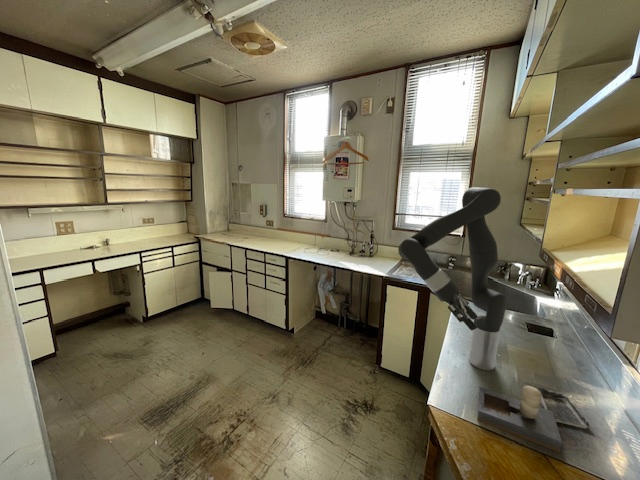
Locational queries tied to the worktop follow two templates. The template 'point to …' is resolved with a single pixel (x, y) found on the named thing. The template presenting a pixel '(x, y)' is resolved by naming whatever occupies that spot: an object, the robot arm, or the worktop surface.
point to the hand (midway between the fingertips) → (474, 323)
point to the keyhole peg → (530, 402)
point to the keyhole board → (518, 419)
